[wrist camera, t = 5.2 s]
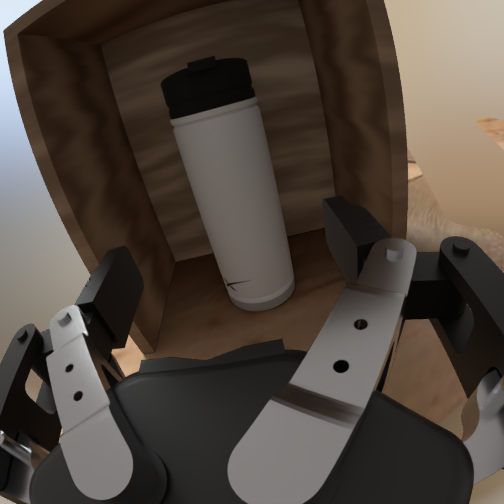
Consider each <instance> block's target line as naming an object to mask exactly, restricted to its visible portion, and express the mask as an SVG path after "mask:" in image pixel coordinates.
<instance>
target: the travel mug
mask: <svg viewBox="0 0 504 504" xmlns="http://www.w3.org/2000/svg"><path fill="white" fill-rule="evenodd" d="M187 66H188V68H185V69H182V70H180V71H177V72H175V73H173V74H171V75H169V76H168V77H166V78H165V79H164V80H162V82H161V84H160V85H161V88H162V92H163V95H164V99H165V102H166V105H167V106H168V107H169V116H170V122H171V125H172V126H174V129H173V131H174V135H175V138H176V141H177V144H178V148H179V151H180V154H181V157H182V160H183V163H184V166H185V170H186V173H187V176H188V179H189V182H190V185H191V188H192V191H193V194H194V197H195V200H196V203H197V206H198V209H199V212H200V215H201V218H202V221H203V224H204V227H205V229H206V232H207V235H208V238H209V241H210V244H211V247H212V249H213V252H214V255H215V258H216V261H217V264H218V266H219V269H220V272H221V275H222V277H223V280H224V283H225V286H226V288H227V291H228V294H229V297H230V299H231V301H232V302H233V304H234V305H236V306H237V307H239V308H241V309H243V310H247V311H264V310H269V309H272V308H275V307H277V306H278V305H280V304H282V303H283V302H285V301H286V300H287V299H288V298H289V297H290V296H291V294H292V292H293V291H294V288H295V278H294V273H293V267H292V262H291V256H290V251H289V245H288V240H287V235H286V230H285V225H284V220H283V214H282V209H281V205H280V200H279V195H278V190H277V185H276V180H275V176H274V171H273V166H272V162H271V157H270V152H269V148H268V143H267V139H266V135H265V130H264V126H263V121H262V117H261V113H260V109H259V107H258V106H257V105H256V104H257V102H258V100H257V96H256V95H255V91H254V88H252V86H251V84H252V79H251V75H250V71H249V67H248V63H247V60H245V59H243V58H225V59H218V60H216V59H215V56H211V57H207V58H203V59H200V60H196V61H192V62H189V63H187Z"/></svg>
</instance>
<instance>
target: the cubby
mask: <svg viewBox="0 0 504 504" xmlns="http://www.w3.org/2000/svg"><path fill="white" fill-rule="evenodd" d="M3 32H4V39H5V46H6V52H7V57H8V64H9V68H10V74H11V78H12V83H13V87H14V91H15V95H16V99H17V103H18V107H19V110H20V114H21V117H22V121H23V124H24V127H25V130H26V133H27V136H28V139H29V142H30V145H31V148H32V151H33V154H34V156H35V159H36V162H37V164H38V167H39V169H40V172H41V175H42V177H43V180H44V182H45V185H46V187H47V189H48V192H49V194H50V196H51V198H52V201H53V203H54V205H55V207H56V209H57V212H58V214H59V216H60V218H61V220H62V222H63V224H64V226H65V228H66V230H67V232H68V234H69V236H70V238H71V240H72V242H73V244H74V246H75V247H76V250H77V251H78V253H79V255H80V257H81V259H82V261H83V262H84V264H85V266H86V268H87V269H88V271H89V273H90V275H91V274H92V273H93V271H94V270H95V269H96V268H97V267H98V266H99V264H100V263H101V261H102V259H103V258H104V256H105V254H106V253H107V251H108V250H110V249H113V248H117V247H120V246H126V247H127V248H128V249H129V251H130V253H131V255H132V257H133V259H134V261H135V263H136V265H137V267H138V269H139V271H140V273H141V275H142V278H143V282H144V289H143V292H142V295H141V298H140V301H139V304H138V307H137V310H136V313H135V316H134V319H133V322H132V326H131V329H130V332H129V335H130V337H131V338H132V339H133V341H134V342H135V344H136V345H137V346H138V348H139V349H140V350H141V352H142V353H143V354H145V353H154V352H155V349H156V344H157V339H158V334H159V330H160V325H161V321H162V316H163V312H164V308H165V303H166V299H167V295H168V291H169V287H170V283H171V279H172V275H173V271H174V267H175V263H176V262H177V261H181V260H186V259H190V258H194V257H199V256H203V255H207V254H212V253H214V252H213V249H212V247H211V244H210V241H209V238H208V235H207V232H206V229H205V227H204V224H203V221H202V218H201V215H200V212H199V209H198V206H197V203H196V200H195V197H194V194H193V191H192V188H191V185H190V182H189V179H188V176H187V173H186V170H185V166H184V163H183V160H182V157H181V154H180V151H179V148H178V144H177V141H176V138H175V135H174V131H173V129H174V126H172V125H171V122H170V116H169V107H168V106H167V105H166V102H165V99H164V95H163V92H162V88H161V85H160V84H161V82H162V80H164V79H165V78H166V77H168V76H169V75H171V74H173V73H175V72H177V71H180V70H182V69H185V68H188V66H187V63H189V62H192V61H196V60H200V59H203V58H207V57H211V56H215V59H216V60H218V59H225V58H243V59H245V60H247V63H248V67H249V71H250V75H251V79H252V84H251V86H252V88H254V91H255V95H256V96H257V100H258V102H257V104H256V105H257V106H258V107H259V109H260V113H261V117H262V121H263V126H264V130H265V135H266V139H267V143H268V148H269V152H270V157H271V162H272V166H273V171H274V176H275V180H276V185H277V190H278V195H279V200H280V205H281V209H282V214H283V220H284V225H285V230H286V235H287V236H291V235H295V234H300V233H304V232H309V231H313V230H318V229H322V228H325V225H324V217H323V208H322V199H324V198H329V197H334V196H339V195H342V196H343V198H344V199H345V200H346V201H347V202H348V203H349V204H350V206H353V205H358V206H361V207H363V208H365V209H367V210H368V211H369V212H370V213H371V214H372V215H373V217H374V218H375V219H376V220H377V221H378V223H380V224H381V225H382V227H383V228H384V229H385V230H386V231H387V232H388V233H389V234H390V236H391V237H392V238H400V239H404V240H406V232H407V210H408V161H407V139H406V125H405V114H404V104H403V95H402V87H401V80H400V73H399V68H398V62H397V56H396V50H395V45H394V41H393V36H392V31H391V27H390V23H389V19H388V15H387V11H386V8H385V3H384V0H43V1H41V2H40V3H38V4H37V5H35V6H34V7H33V8H31V9H30V10H29V11H27V12H26V13H25V14H23V15H22V16H21V17H19V18H18V19H17V20H16V21H14V22H13V23H12V24H11V25H10V26H8V27H7V28H6V29H5V30H4V31H3Z"/></svg>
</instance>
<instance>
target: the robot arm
mask: <svg viewBox="0 0 504 504" xmlns="http://www.w3.org/2000/svg"><path fill="white" fill-rule="evenodd" d="M322 208H323V217H324V225H325V235H326V240H327V244H328V248H329V250H330V252H331V254H332V256H333V258H334V260H335V262H336V264H337V266H338V268H339V270H340V272H341V274H342V276H343V278H344V280H345V282H346V285H345V287H344V289H343V291H342V293H341V294H340V296H339V298H338V300H337V302H336V304H335V306H334V307H333V309H332V311H331V313H330V315H329V317H328V318H327V320H326V322H325V324H324V325H323V327H322V329H321V331H320V333H319V334H318V336H317V338H316V339H315V341H314V343H313V345H312V346H311V348H310V350H309V351H308V352H305V351H300V350H285V348H284V344H283V340H282V339H278V340H273V341H268V342H263V343H258V344H253V345H247V346H243V347H241V348H238V349H236V350H233V351H230V352H228V353H225V354H222V355H220V356H217V357H214V358H211V359H208V360H198V359H187V358H177V357H167V358H159V359H149V360H141V364H140V369H139V371H138V372H136V373H133V374H131V375H129V376H127V377H125V375H124V373H123V371H122V370H121V368H120V366H119V364H118V362H117V360H116V358H115V357H114V356H113V354H112V353H111V352H112V349H119V348H125V345H126V342H127V338H128V335H129V332H130V329H131V326H132V322H133V319H134V316H135V313H136V310H137V307H138V304H139V301H140V298H141V295H142V292H143V289H144V282H143V278H142V275H141V273H140V271H139V269H138V267H137V265H136V263H135V261H134V259H133V257H132V255H131V253H130V251H129V249H128V248H127V247H126V246H120V247H117V248H113V249H110V250H108V251H107V253H106V254H105V256H104V258H103V259H102V261H101V263H100V264H99V266H98V267H97V268H96V269H95V270H94V271H93V273H92V274H91V276H90V278H89V281H88V282H87V283H86V285H85V287H84V288H83V290H82V292H81V294H80V296H79V297H78V299H77V301H76V303H75V305H71V306H67V307H65V308H63V309H62V310H60V311H59V312H58V313H57V314H56V315H55V316H54V317H53V319H52V320H51V322H50V329H48V330H46V331H43V332H41V333H40V332H39V331H38V329H37V328H36V327H35V325H34V324H28V325H25V326H23V327H22V328H21V329H20V330H19V331H18V332H17V333H16V334H15V336H14V337H13V339H12V341H11V343H10V345H9V347H8V349H7V351H6V353H5V355H4V357H3V360H2V362H1V364H0V496H2V497H4V498H6V499H8V500H10V501H12V502H14V503H16V504H469V501H470V497H471V493H472V488H473V485H474V484H476V483H478V482H480V481H481V480H483V479H485V478H486V477H488V476H490V475H492V474H494V473H495V472H497V471H498V470H500V469H504V274H503V272H502V271H501V270H500V269H499V268H498V267H497V266H496V264H495V263H494V262H493V261H492V260H491V259H490V258H489V257H488V256H487V255H486V254H485V253H484V252H483V250H482V249H481V248H480V247H479V246H478V245H477V244H476V243H474V242H473V241H471V240H469V239H467V238H464V237H457V236H454V237H448V238H446V239H444V240H443V241H442V242H441V246H440V252H417V251H416V248H415V246H414V245H413V244H412V243H410V242H409V241H406V240H404V239H400V238H392V237H391V236H390V234H389V233H388V232H387V231H386V230H385V229H384V228H383V227H382V225H381V224H380V223H378V221H377V220H376V219H375V218H374V217H373V215H372V214H371V213H370V212H369V211H368V210H367V209H365V208H363V207H361V206H358V205H353V206H350V204H349V203H348V202H347V201H346V200H345V199H344V198H343V196H342V195H339V196H334V197H329V198H324V199H322ZM467 304H468V306H469V307H470V309H471V310H472V312H471V310H470V309H469V307H468V306H467ZM410 319H429V320H430V322H431V324H432V326H433V327H434V329H435V331H436V333H437V335H438V337H439V339H440V341H441V343H442V345H443V347H444V348H445V350H446V352H447V355H448V357H449V359H450V361H451V363H452V365H453V367H454V369H455V371H456V373H457V375H458V378H459V380H460V382H461V384H462V387H463V389H464V391H465V393H466V396H467V398H468V400H467V402H466V403H465V405H464V407H463V410H462V415H461V418H462V425H463V437H462V440H460V439H459V438H458V437H457V436H456V435H454V434H453V433H452V432H450V431H448V430H446V429H444V428H442V427H441V426H439V425H437V424H435V423H433V422H432V421H430V420H428V419H426V418H425V417H423V416H421V415H419V414H417V413H416V412H414V411H412V410H410V409H409V408H407V407H405V406H403V405H402V404H400V403H398V402H397V401H395V400H393V399H392V398H390V397H388V396H386V395H385V394H383V391H384V389H385V386H386V383H387V380H388V377H389V374H390V371H391V368H392V364H393V361H394V358H395V355H396V352H397V349H398V346H399V343H400V340H401V336H402V333H403V329H404V326H405V322H406V320H410ZM30 369H32V370H33V371H34V372H35V373H36V374H37V375H38V376H39V377H40V378H41V379H42V380H43V383H42V386H41V389H40V391H39V395H38V398H37V401H36V403H35V402H34V401H33V400H32V399H31V398H30V397H29V396H28V395H27V393H26V391H25V383H26V380H27V378H28V375H29V372H30ZM61 429H63V434H62V435H61V436H60V434H61ZM59 438H60V443H59ZM58 443H59V444H58Z"/></svg>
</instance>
